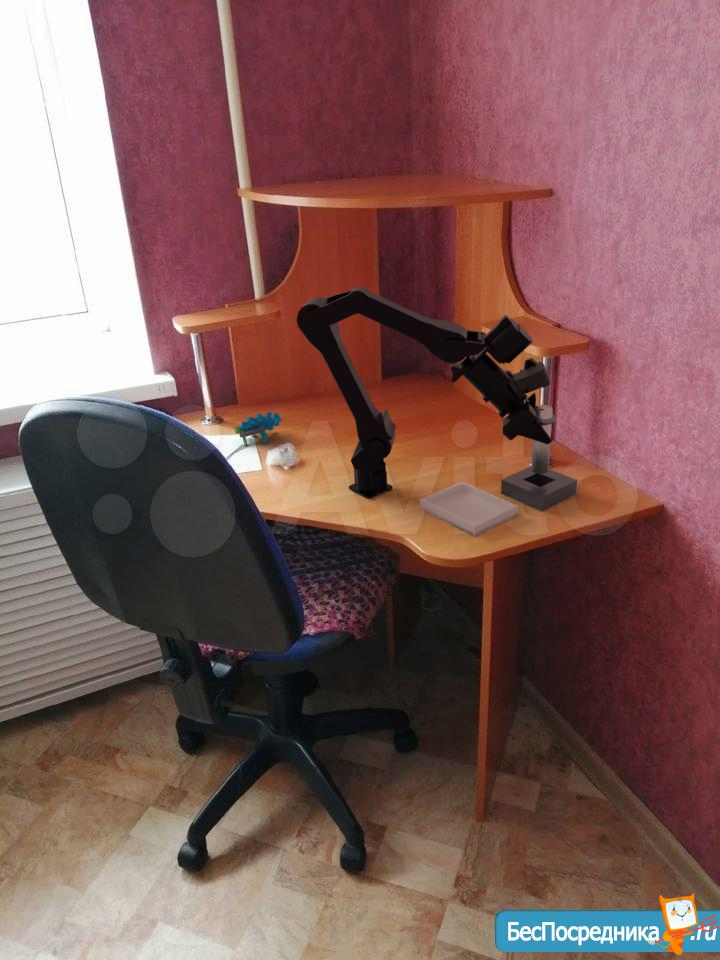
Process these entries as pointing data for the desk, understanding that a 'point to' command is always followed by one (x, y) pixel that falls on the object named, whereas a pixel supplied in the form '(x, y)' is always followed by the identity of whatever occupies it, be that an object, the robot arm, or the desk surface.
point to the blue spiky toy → (258, 426)
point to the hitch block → (538, 488)
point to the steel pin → (540, 449)
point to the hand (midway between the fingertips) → (549, 438)
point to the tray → (468, 508)
